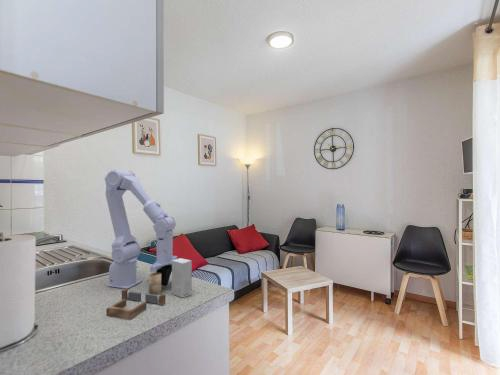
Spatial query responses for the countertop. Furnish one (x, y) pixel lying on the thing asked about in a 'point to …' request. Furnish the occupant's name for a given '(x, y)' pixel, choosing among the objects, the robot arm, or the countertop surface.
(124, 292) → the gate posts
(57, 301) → the countertop surface
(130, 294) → the flap left
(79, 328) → the countertop surface
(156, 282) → the peg
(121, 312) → the bay
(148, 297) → the flap right
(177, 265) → the skincare box
